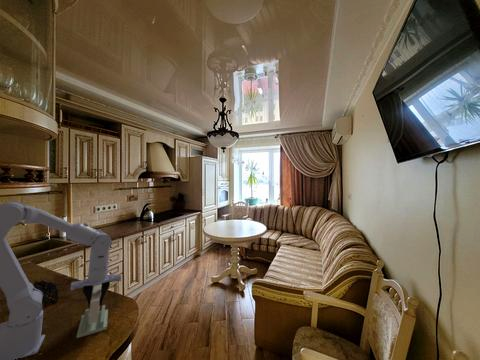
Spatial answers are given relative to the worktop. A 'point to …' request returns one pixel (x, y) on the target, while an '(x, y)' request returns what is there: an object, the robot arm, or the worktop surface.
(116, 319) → the worktop surface
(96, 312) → the beige rectangular block
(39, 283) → the decorative element
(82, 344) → the worktop surface
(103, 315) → the rack
